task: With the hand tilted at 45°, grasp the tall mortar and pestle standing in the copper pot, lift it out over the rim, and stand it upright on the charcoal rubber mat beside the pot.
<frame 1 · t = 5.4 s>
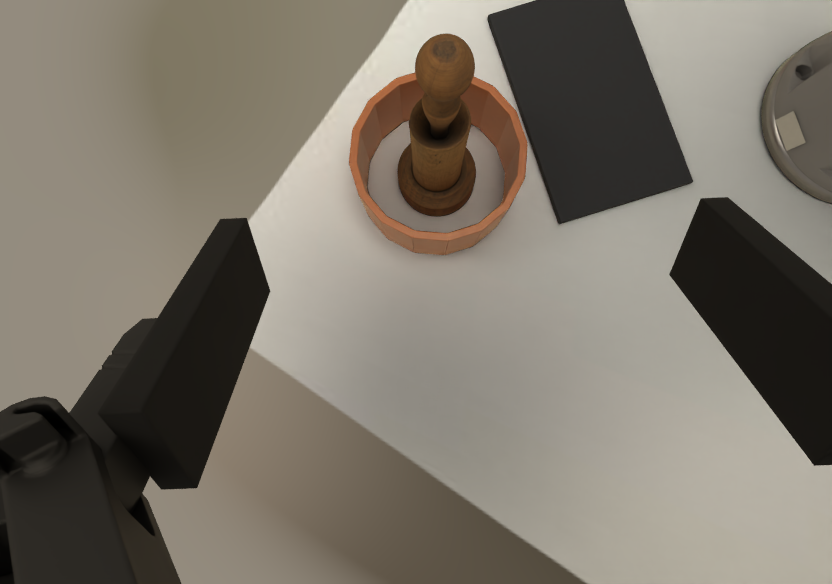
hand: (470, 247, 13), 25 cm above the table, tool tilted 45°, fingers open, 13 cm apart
copper pot: (435, 180, 39), on the table
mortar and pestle: (435, 181, 39), resting in copper pot
rubber mat: (586, 99, 39), on the table
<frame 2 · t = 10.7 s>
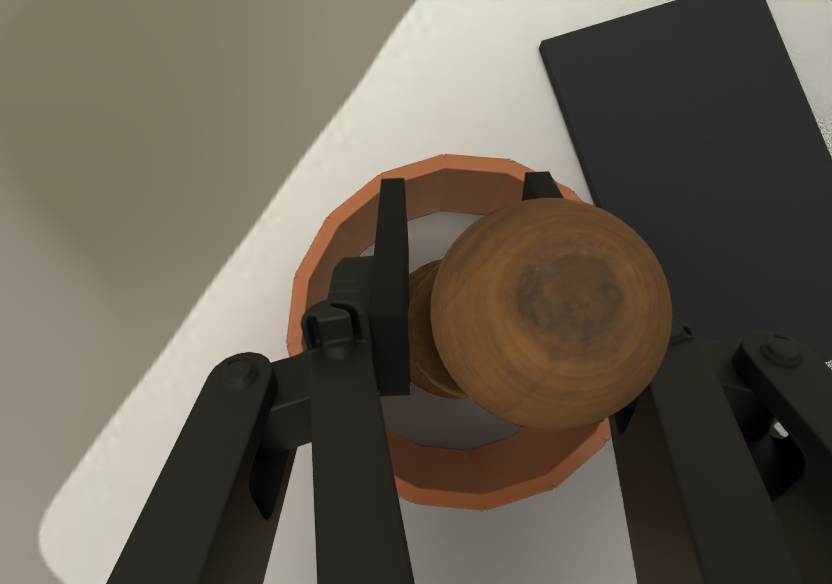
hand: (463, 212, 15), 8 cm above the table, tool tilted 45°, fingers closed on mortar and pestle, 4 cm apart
copper pot: (452, 327, 22), on the table
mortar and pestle: (452, 327, 23), resting in copper pot, touching gripper
rubber mat: (709, 186, 23), on the table
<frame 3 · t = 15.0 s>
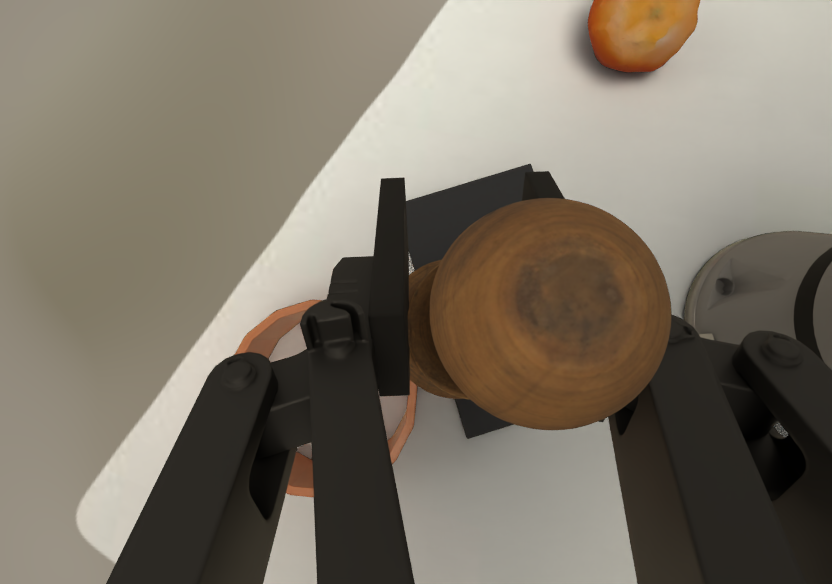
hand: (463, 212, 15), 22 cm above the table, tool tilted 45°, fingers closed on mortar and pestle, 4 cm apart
copper pot: (335, 386, 36), on the table
fruit: (618, 47, 39), on the table
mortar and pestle: (452, 327, 23), point 14 cm above the table, touching gripper
rubber mat: (498, 297, 37), on the table
when the fingers open (9 cm above the table, at t = 19.5 s): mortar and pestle stays where it is, resting on rubber mat.
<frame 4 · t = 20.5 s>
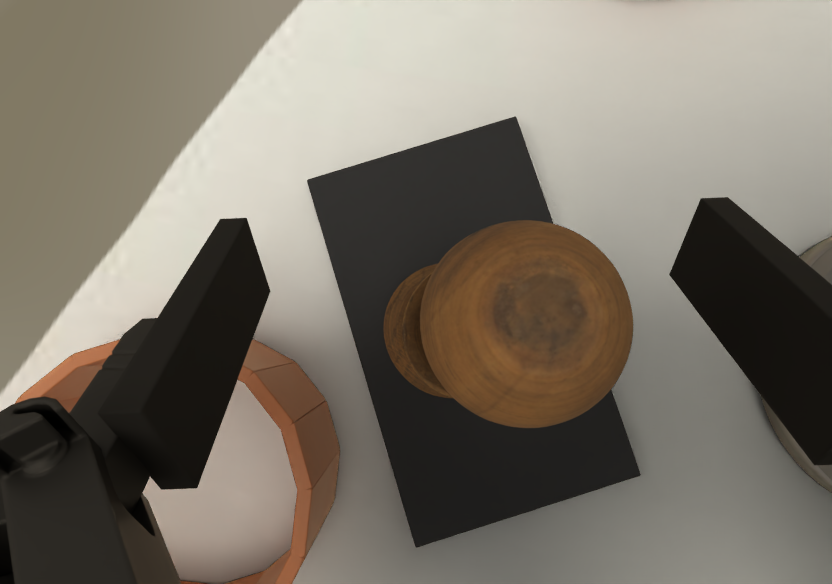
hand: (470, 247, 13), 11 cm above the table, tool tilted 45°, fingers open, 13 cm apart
copper pot: (213, 462, 23), on the table
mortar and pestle: (448, 329, 23), resting on rubber mat
rubber mat: (467, 322, 24), on the table
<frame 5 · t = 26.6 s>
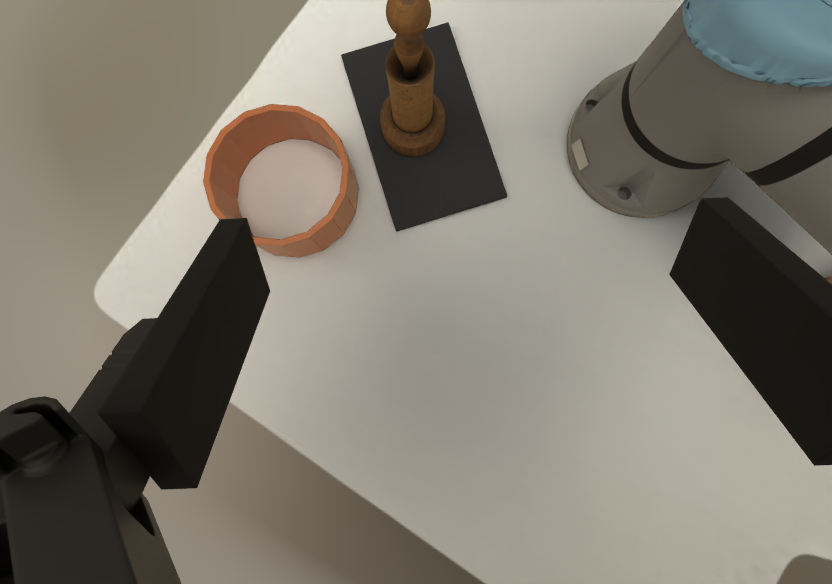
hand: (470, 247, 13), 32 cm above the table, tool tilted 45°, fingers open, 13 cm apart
copper pot: (294, 194, 46), on the table
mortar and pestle: (413, 128, 46), resting on rubber mat
rubber mat: (422, 126, 47), on the table
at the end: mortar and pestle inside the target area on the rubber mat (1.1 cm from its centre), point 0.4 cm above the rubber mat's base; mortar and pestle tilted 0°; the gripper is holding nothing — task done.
